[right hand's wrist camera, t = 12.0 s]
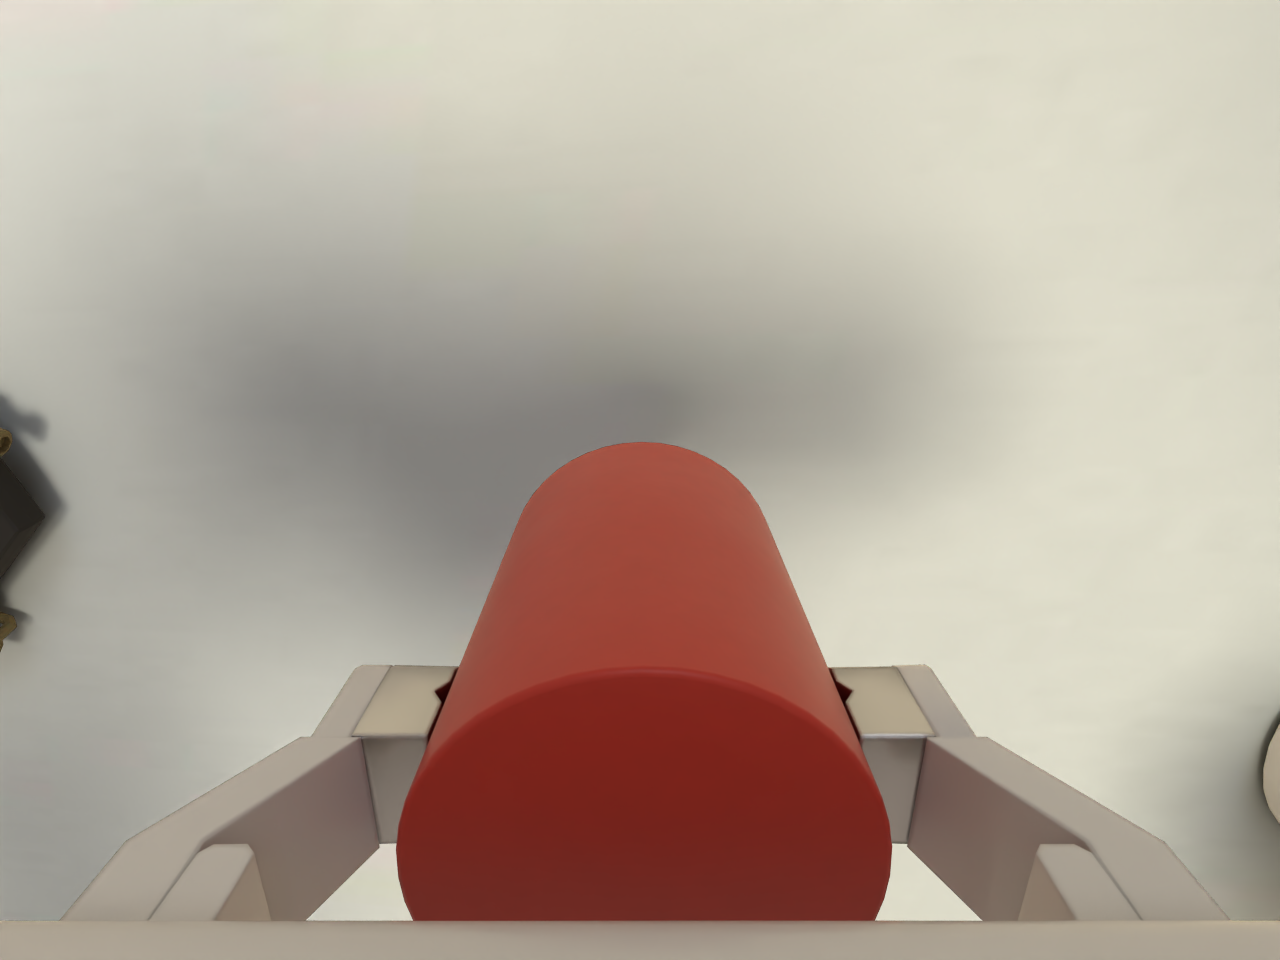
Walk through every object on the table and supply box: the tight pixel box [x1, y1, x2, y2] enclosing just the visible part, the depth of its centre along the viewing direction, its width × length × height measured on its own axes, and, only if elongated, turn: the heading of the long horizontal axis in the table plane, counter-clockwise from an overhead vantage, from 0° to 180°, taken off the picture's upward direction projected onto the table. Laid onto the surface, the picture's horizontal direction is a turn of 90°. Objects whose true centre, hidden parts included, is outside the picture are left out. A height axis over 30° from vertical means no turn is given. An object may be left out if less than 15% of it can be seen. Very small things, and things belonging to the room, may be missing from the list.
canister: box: [396, 442, 892, 921], centre depth 11 cm, size 6×6×7 cm
